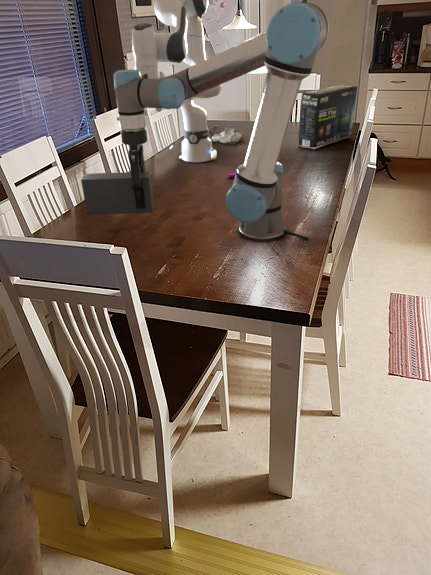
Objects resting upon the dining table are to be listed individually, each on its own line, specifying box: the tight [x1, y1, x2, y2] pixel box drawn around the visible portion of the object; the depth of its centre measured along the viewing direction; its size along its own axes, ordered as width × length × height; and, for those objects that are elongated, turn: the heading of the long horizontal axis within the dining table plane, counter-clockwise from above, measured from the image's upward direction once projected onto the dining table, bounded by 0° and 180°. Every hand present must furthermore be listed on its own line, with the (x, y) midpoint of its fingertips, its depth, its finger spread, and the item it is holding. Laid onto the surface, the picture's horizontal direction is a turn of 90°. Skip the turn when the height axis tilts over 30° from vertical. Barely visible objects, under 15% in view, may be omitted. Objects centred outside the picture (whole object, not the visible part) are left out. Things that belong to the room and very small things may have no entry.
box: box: [80, 171, 155, 216], centre depth 143 cm, size 20×6×11 cm, turn 91°
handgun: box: [227, 172, 236, 179], centre depth 192 cm, size 21×8×2 cm, turn 11°
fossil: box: [211, 127, 246, 146], centre depth 254 cm, size 18×11×15 cm
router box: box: [297, 84, 358, 151], centre depth 238 cm, size 36×11×27 cm, turn 134°
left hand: (151, 113), depth 177 cm, fingers open, 8 cm apart
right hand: (142, 204), depth 145 cm, fingers closed on box, 6 cm apart
